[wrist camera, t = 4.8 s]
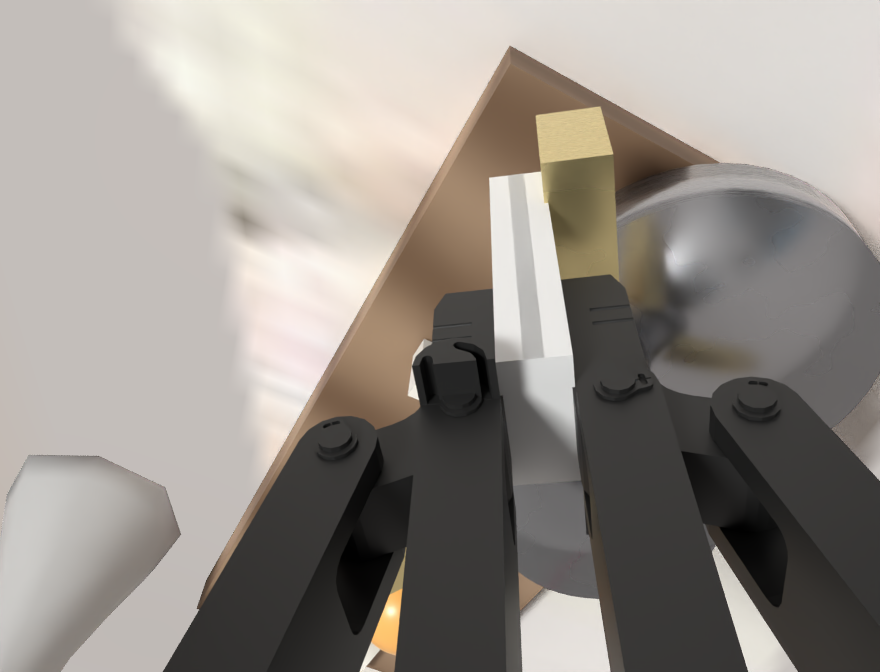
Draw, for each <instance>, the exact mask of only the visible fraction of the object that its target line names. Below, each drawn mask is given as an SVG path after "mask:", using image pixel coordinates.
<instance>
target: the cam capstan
mask: <svg viewBox="0 0 880 672" xmlns="http://www.w3.org/2000/svg"><path fill="white" fill-rule="evenodd" d="M536 125H537V135H538V146H539V156H540V166H541V176H542V186H543V196H544V203H548V205H549V211H550V217H551V223H552V230H553V236H554V242H555V248H556V254H557V260H558V267H559V273H560V279H561V280H562V279H571V278H580V277H590V276H599V275H608V274H611V275H612V276H613V277H614V278H615V279H616V280H617V281H618V282H619V283H621V284H622V285H623V286H624V287H625V289H626V292H627V296H628V299H629V303H630V307H631V310H632V314H633V317H634V321H635V325H636V328H637V332H638V336H639V339H640V343H641V346H642V350H643V354H644V357H645V361H646V365H647V368H648V370H650V371H651V372H653V373H654V374H655V376H656V377H657V379H658V380H659V382H660V384H662V385H663V386H665V387H666V388H668V389H671V390H673V391H676V392H679V393H683V394H688V395H693V396H701V397H709V398H712V394H713V392H714V391H715V390H716V389H717V388H718V387H719V386H720V385H721V384H723V383H726V382H728V381H730V380H732V379H736V378H743V377H760V378H769V379H772V380H774V381H777V382H780V383H783V384H785V385H787V386H788V387H789V388H791V389H792V390H793V391H795V392H796V393H797V394H798V395H799V396H800V397H801V398H802V399H803V400H804V401H805V402H806V403H807V404H808V405H809V406H810V407H811V408H812V409H813V411H814V412H815V413H816V414H817V415H818V416H819V417H820V418H821V419H822V420H823V421H824V422H825V423H826V424H827V425H828V426H829V428H830V429H831V428H833V427H834V426H835V425H837V424H838V423H839V422H840V421H841V420H843V419H844V418H845V417H846V416H847V415H848V414H849V413H850V412H851V411H852V410H853V409H854V408H855V407H856V406H857V404H858V403H859V402H860V401H861V400H862V398H863V397H864V396H865V395H866V393H867V392H868V391H869V389H870V388H871V386H872V385H873V383H874V381H875V380H876V378H877V377H878V375H879V373H880V263H879V262H878V260H877V259H876V257H875V256H874V255H873V253H872V252H871V250H870V249H869V248H868V246H867V245H866V243H865V242H864V241H863V239H862V238H861V236H860V235H859V234H858V232H857V231H856V229H855V228H854V227H853V225H852V224H851V222H850V221H849V220H848V218H847V217H846V216H845V214H844V213H843V211H842V210H841V209H840V208H839V207H838V206H837V205H835V204H834V203H833V202H832V201H831V200H830V199H829V198H828V197H827V196H826V195H824V194H823V193H821V192H820V191H818V190H817V189H815V188H814V187H813V186H811V185H809V184H807V183H805V182H803V181H801V180H799V179H797V178H795V177H793V176H791V175H788V174H785V173H782V172H779V171H775V170H772V169H769V168H764V167H758V166H753V165H747V164H731V163H714V164H699V165H692V166H687V167H681V168H676V169H671V170H668V171H665V172H661V173H658V174H655V175H651V176H648V177H646V178H644V179H641V180H639V181H637V182H634V183H632V184H630V185H627V186H625V187H624V188H622V189H620V190H618V191H616V192H615V179H614V157H613V151H612V147H611V144H610V140H609V136H608V133H607V129H606V125H605V122H604V118H603V114H602V110H601V107H593V108H585V109H578V110H570V111H563V112H556V113H548V114H541V115H536ZM513 492H514V499H515V506H516V524H517V550H518V572H519V573H521V574H522V575H523V576H525V577H526V578H528V579H529V580H531V581H533V582H534V583H536V584H538V585H540V586H542V587H545V588H547V589H550V590H552V591H555V592H558V593H562V594H566V595H570V596H576V597H583V598H595V599H599V594H598V588H597V582H596V575H595V569H594V563H593V556H592V550H591V544H590V537H589V535H586V522H585V507H584V493H583V485H582V482H581V481H569V482H557V483H544V484H528V485H515V486H513ZM703 525H704V529H705V532H706V535H707V538H708V542H709V545H710V548H711V552H712V551H713V549H714V547H715V545H716V544H715V543H714V541H713V540H712V538H711V537H710V535H709V533H708V531H707V528H706V525H705V524H703ZM405 556H406V549H405ZM405 556H404V559H403V562H402V564H401V567H400V569H399V572H398V574H397V577H396V580H395V582H394V585H393V587H392V590H391V592H390V594H392V593H394V592H396V591H398V590H400V589H402V587H403V577H404V567H405Z"/></svg>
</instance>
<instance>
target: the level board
mask: <svg viewBox="0 0 880 672" xmlns="http://www.w3.org/2000/svg"><path fill="white" fill-rule="evenodd" d="M593 107H601V110H602V114H603V118H604V122H605V125H606V129H607V133H608V136H609V140H610V144H611V147H612V151H613V157H614V179H615V192H616V191H618V190H620V189H622V188H624V187H625V186H627V185H630V184H632V183H634V182H637V181H639V180H641V179H644V178H646V177H648V176H651V175H655V174H658V173H661V172H665V171H668V170H671V169H676V168H681V167H687V166H692V165H699V164H714V163H719V162H718V161H716V160H714V159H712V158H710V157H709V156H707V155H705V154H703V153H701V152H700V151H698V150H696V149H694V148H693V147H691V146H689V145H687V144H685V143H684V142H682V141H680V140H678V139H676V138H675V137H673V136H671V135H669V134H667V133H666V132H664V131H662V130H660V129H658V128H657V127H655V126H653V125H651V124H649V123H648V122H646V121H644V120H642V119H640V118H639V117H637V116H635V115H633V114H631V113H630V112H628V111H626V110H624V109H622V108H621V107H619V106H617V105H615V104H613V103H612V102H610V101H608V100H606V99H604V98H603V97H601V96H599V95H597V94H596V93H594V92H592V91H590V90H588V89H587V88H585V87H583V86H581V85H579V84H578V83H576V82H574V81H572V80H570V79H569V78H567V77H565V76H563V75H561V74H560V73H558V72H556V71H554V70H552V69H551V68H549V67H547V66H545V65H543V64H542V63H540V62H538V61H536V60H534V59H533V58H531V57H529V56H527V55H525V54H524V53H522V52H520V51H518V50H516V49H515V48H513V47H511V46H509V48H508V50H507V52H506V53H505V55H504V57H503V59H502V60H501V62H500V64H499V66H498V68H497V69H496V71H495V73H494V75H493V76H492V78H491V80H490V82H489V83H488V85H487V87H486V89H485V90H484V92H483V94H482V96H481V97H480V99H479V101H478V103H477V105H476V106H475V108H474V110H473V112H472V113H471V115H470V117H469V119H468V120H467V122H466V124H465V126H464V127H463V129H462V131H461V133H460V134H459V136H458V138H457V140H456V142H455V143H454V145H453V147H452V149H451V150H450V152H449V154H448V156H447V157H446V159H445V161H444V163H443V164H442V166H441V168H440V170H439V171H438V173H437V175H436V177H435V178H434V180H433V182H432V184H431V186H430V187H429V189H428V191H427V193H426V194H425V196H424V198H423V200H422V201H421V203H420V205H419V207H418V208H417V210H416V212H415V214H414V215H413V217H412V219H411V221H410V223H409V224H408V226H407V228H406V230H405V231H404V233H403V235H402V237H401V238H400V240H399V242H398V244H397V245H396V247H395V249H394V251H393V252H392V254H391V256H390V258H389V260H388V261H387V263H386V265H385V267H384V268H383V270H382V272H381V274H380V275H379V277H378V279H377V281H376V282H375V284H374V286H373V288H372V289H371V291H370V293H369V295H368V296H367V298H366V300H365V302H364V304H363V305H362V307H361V309H360V311H359V312H358V314H357V316H356V318H355V319H354V321H353V323H352V325H351V326H350V328H349V330H348V332H347V333H346V335H345V337H344V339H343V341H342V342H341V344H340V346H339V348H338V349H337V351H336V353H335V355H334V356H333V358H332V360H331V362H330V363H329V365H328V367H327V369H326V370H325V372H324V374H323V376H322V378H321V379H320V381H319V383H318V385H317V386H316V388H315V390H314V392H313V393H312V395H311V397H310V399H309V400H308V402H307V404H306V406H305V407H304V409H303V411H302V413H301V414H300V416H299V418H298V420H297V422H296V423H295V425H294V427H293V429H292V430H291V432H290V434H289V436H288V437H287V439H286V441H285V443H284V444H283V446H282V448H281V450H280V451H279V453H278V455H277V457H276V459H275V460H274V462H273V464H272V466H271V467H270V469H269V471H268V473H267V474H266V476H265V478H264V480H263V481H262V483H261V485H260V487H259V488H258V490H257V492H256V494H255V496H254V497H253V499H252V501H251V503H250V504H249V506H248V508H247V510H246V512H245V513H244V515H243V517H242V518H241V520H240V522H239V524H238V526H237V527H236V529H235V531H234V532H233V534H232V536H231V538H230V540H229V541H228V543H227V545H226V547H225V549H224V550H223V552H222V554H221V555H220V558H219V559H218V561H217V562H216V564H215V566H214V568H213V569H212V571H211V573H210V575H209V577H208V578H207V580H206V583H205V586H204V589H203V592H202V595H201V598H200V601H199V603H198V606H197V609H199V610H200V608H201V606H202V605H203V603H204V601H205V599H206V598H207V596H208V594H209V593H210V591H211V589H212V588H213V586H214V584H215V582H216V581H217V579H218V577H219V576H220V574H221V572H222V571H223V569H224V567H225V565H226V564H227V562H228V560H229V559H230V557H231V555H232V554H233V552H234V550H235V548H236V547H237V545H238V543H239V542H240V540H241V538H242V537H243V535H244V533H245V532H246V530H247V528H248V526H249V525H250V523H251V521H252V520H253V518H254V516H255V515H256V513H257V511H258V509H259V508H260V506H261V504H262V503H263V501H264V499H265V498H266V496H267V494H268V492H269V491H270V489H271V487H272V486H273V484H274V482H275V481H276V479H277V477H278V476H279V474H280V472H281V470H282V469H283V467H284V465H285V464H286V462H287V460H288V459H289V457H290V455H291V453H292V452H293V450H294V448H295V447H296V445H297V443H298V442H299V440H300V439H301V438H302V436H303V435H304V434H305V433H306V432H307V431H308V430H309V429H310V428H312V427H313V426H315V425H317V424H318V423H320V422H321V421H325V420H328V419H331V418H334V417H340V416H354V417H358V418H362V419H365V420H366V421H368V422H369V423H370V424H372V425H373V426H374V428H375V430H377V429H380V428H383V427H386V426H389V425H392V424H394V423H397V422H399V421H402V420H404V419H406V418H407V417H409V416H410V415H412V414H413V413H415V412H416V411H417V410H418V409H419V408H420V402H419V400H417V399H415V398H413V397H410V396H408V390H409V382H410V375H411V368H412V360H413V355H414V354H415V352H416V351H417V349H418V347H419V346H420V344H421V343H422V341H423V340H424V339H426V340H428V341H430V342H432V332H433V318H434V309H435V308H436V306H437V305H438V303H439V302H440V301H441V299H442V298H443V296H444V295H445V294H447V293H456V292H466V291H475V290H484V289H493V275H492V245H491V216H490V186H489V178H492V177H500V176H508V175H516V174H525V173H533V172H541V166H540V156H539V146H538V135H537V125H536V115H541V114H548V113H556V112H563V111H570V110H578V109H585V108H593ZM518 576H519V602H520V611H521V610H522V609H523V608H524V607H525V606H526V605H527V604H528V603H529V602H530V601H531V600H532V599H533V598H534V597H535V596H536V595H537V594H538V592H539V591H540V590H541V589H542V588H543V587H542V586H540V585H538V584H536V583H534V582H533V581H531V580H529V579H528V578H526V577H525V576H523V575H522V574H521V573H519V572H518ZM395 659H396V655H392V654H389V653H386V652H384V651H382V650H380V649H379V648H377V647H376V646H375V645H374V644H372V643H371V644H370V646H369V649H368V651H367V654H366V656H365V659H364V661H363V664H362V667H361V669H360V672H362V671H363V669H364V668H365V667H369V668H372V669H375V670H378V671H381V672H394V669H395Z"/></svg>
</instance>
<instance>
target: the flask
mask: <svg viewBox="0 0 880 672" xmlns="http://www.w3.org/2000/svg"><path fill="white" fill-rule="evenodd" d="M180 535H181V533H180V530H179V527H178V525H177V521H176V519H175V515H174V512H173V510H172V506H171V504H170V500H169V497H168V494H167V491H166V489H165V487H163V486H161V485H159V484H156V483H155V482H153V481H150V480H148V479H146V478H144V477H142V476H139V475H138V474H136V473H133V472H131V471H129V470H127V469H125V468H123V467H120V466H119V465H116V464H114V463H112V462H110V461H108V460H106V459H104V458H102V457H99V456H55V455H29V456H28V457H27V459H26V461H25V463H24V465H23V466H22V468H21V470H20V472H19V474H18V475H17V477H16V479H15V481H14V483H13V485H12V486H11V488H10V490H9V492H8V494H7V498H6V504H5V510H4V516H3V523H2V531H1V538H0V672H61V670H62V669H63V667H64V666H65V664H66V663H67V662H68V660H69V659H70V657H71V656H72V655H73V654H74V653H75V652H76V651H77V650H78V649H79V648H80V646H81V645H82V644H83V643H84V642H85V641H86V640H87V639H88V638H89V637H90V636H91V634H92V633H93V632H94V631H95V630H96V629H97V628H98V627H99V626H100V625H101V623H102V622H103V621H104V620H105V619H106V618H107V617H108V616H109V615H110V614H111V613H112V612H113V611H114V610H115V609H116V608H117V607H118V606H119V605H120V604H121V603H122V602H123V601H124V600H125V599H126V598H127V597H128V596H129V595H130V594H131V592H133V591H134V590H135V589H136V588H137V586H139V585H140V583H142V581H143V580H144V579H145V578H146V577H147V576H148V575H149V574H150V573H151V572H152V571H153V570H154V568H155V567H156V566H157V565H158V563H159V562H160V561H161V559H162V558H163V557H164V556H165V554H166V553H167V552H168V550H169V549H170V548H171V547H172V545H173V544H174V543H175V542H176V540H177V539H178V538H179V536H180Z"/></svg>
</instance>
